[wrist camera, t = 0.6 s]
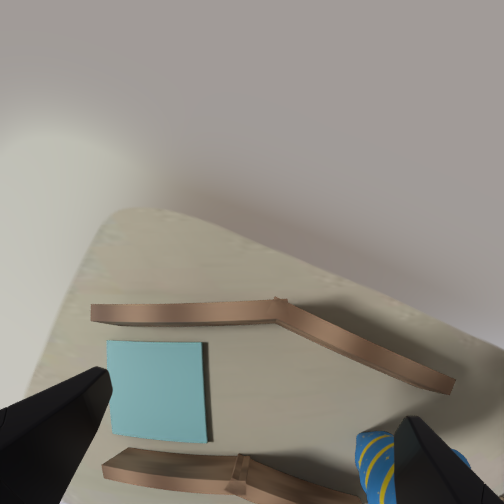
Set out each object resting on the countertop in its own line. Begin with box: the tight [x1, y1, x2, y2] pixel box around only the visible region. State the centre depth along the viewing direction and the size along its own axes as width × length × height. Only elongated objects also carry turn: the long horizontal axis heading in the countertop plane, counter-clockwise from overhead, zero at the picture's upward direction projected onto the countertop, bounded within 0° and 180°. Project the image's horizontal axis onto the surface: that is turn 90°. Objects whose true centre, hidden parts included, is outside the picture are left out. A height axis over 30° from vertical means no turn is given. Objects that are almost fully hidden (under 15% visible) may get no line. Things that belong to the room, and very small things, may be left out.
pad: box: [107, 340, 208, 443], centre depth 22 cm, size 8×8×1 cm
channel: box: [91, 297, 456, 504], centre depth 20 cm, size 25×26×5 cm
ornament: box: [355, 431, 471, 504], centre depth 14 cm, size 5×5×15 cm
